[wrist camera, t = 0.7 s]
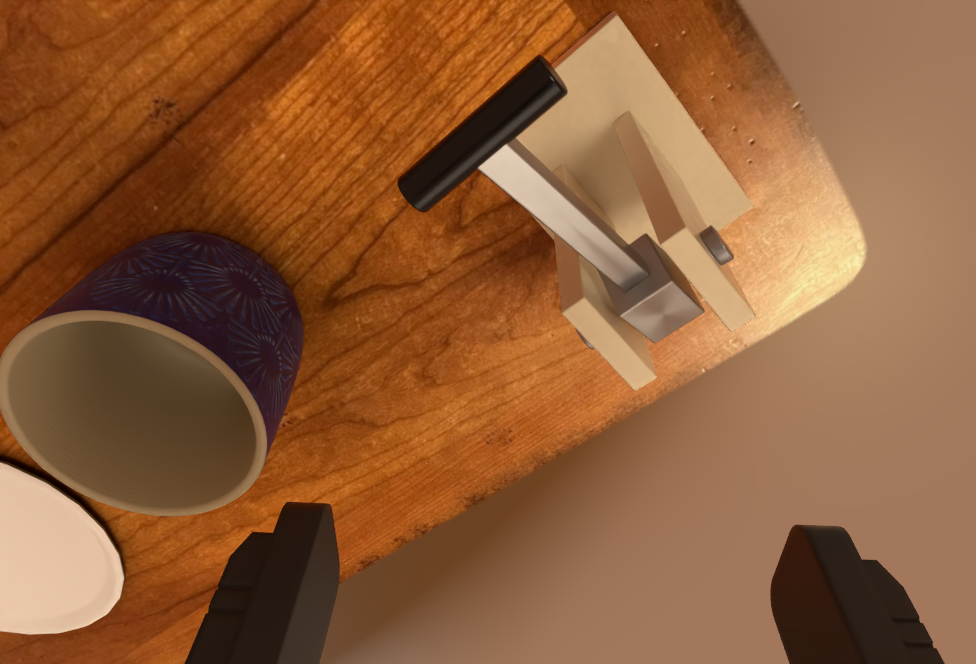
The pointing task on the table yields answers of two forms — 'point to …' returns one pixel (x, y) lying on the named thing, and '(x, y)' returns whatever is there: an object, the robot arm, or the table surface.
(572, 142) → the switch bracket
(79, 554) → the plate
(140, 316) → the planter
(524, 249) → the table surface
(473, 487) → the table surface
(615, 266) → the lever
